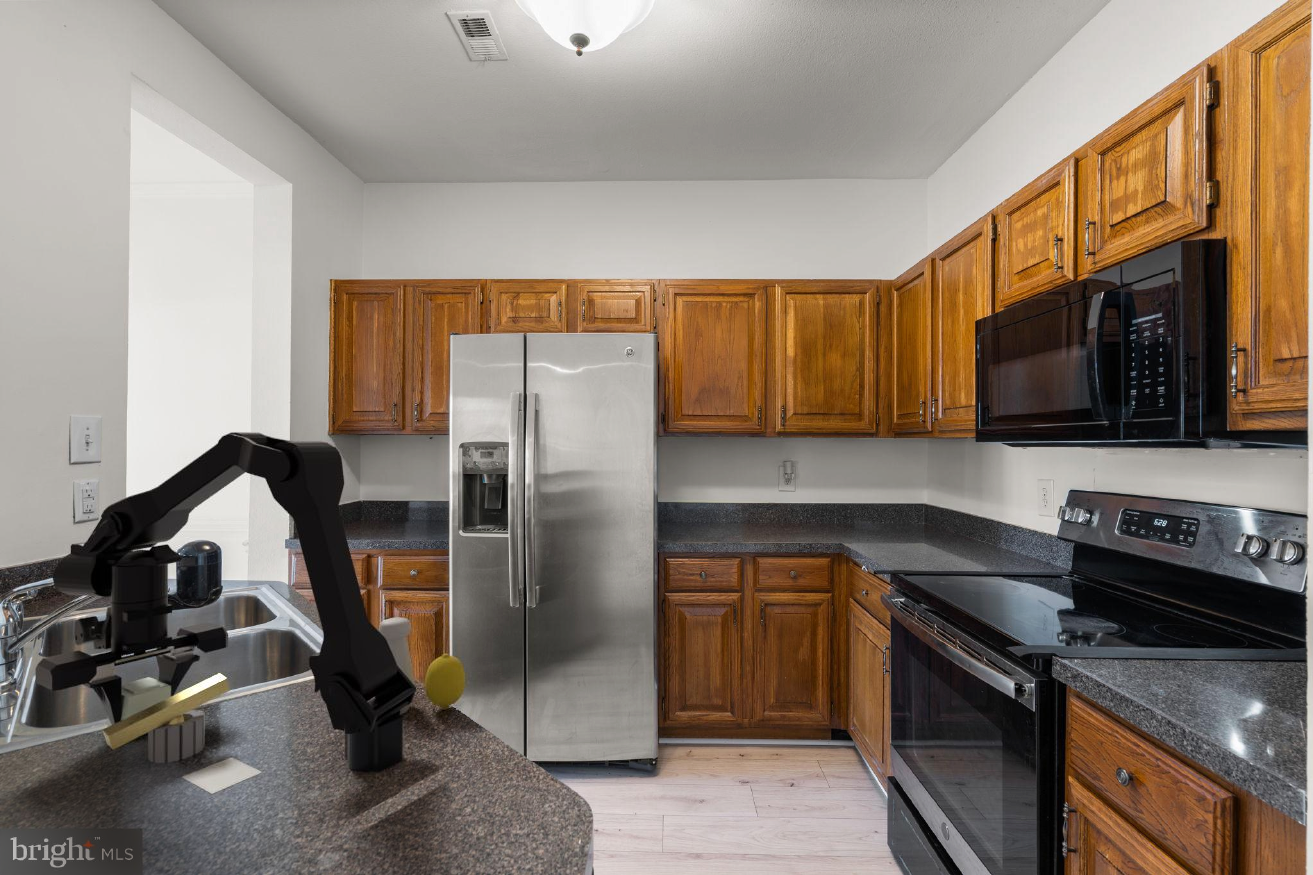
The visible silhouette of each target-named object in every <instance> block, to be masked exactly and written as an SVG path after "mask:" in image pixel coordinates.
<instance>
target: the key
mask: <svg viewBox="0 0 1313 875" xmlns="http://www.w3.org/2000/svg"><path fill="white" fill-rule="evenodd" d="M228 692H230V687H229V682H228V678H227V677H226V676H224V675H223V674H221V673H217V674H215V675H213V676H212V677H209V678H207V679H205V680H203V681H201V682H198V683H196V684H194V685H193V686H191V687H188V688H186V689H184V690H182V691H179V692H178V693H176V694H174V696H172V697H169V698H167V699H165V700H163V701H161V702H159V703H157V704H155V705H153V706H151V707H149V708H147V709H145V710H142V711H140V712H138V713H136V714H134V715H132V716H130V717H128V718H126V719H124V720H122V721H120V722H118V723H116V724H113V725H111V726H109V727H106V728H104V729H102V733H103V736H104V738H105V743H106V744H107V745H108V746H109V747H110V748H111V750H115V749H117V748H119V747H121V746H123V745H125V744H128V743H129V742H131V741H133V740H136V739H138V738H139V737H142V736H143V735H145V734H148V732H149V731H151V730H153V729H155V728H157V727H159V726H161V725H163V724H164V725H171V724H177V723H181V722H184V718H183V714H185V713H187V712H189V711H191V710H195V709H196V708H199V707H200V706H202V705H204V704H206V703H208V702H210V701H212V700H214V699H216V698H218V697H221V695H224V694H226V693H228Z"/></svg>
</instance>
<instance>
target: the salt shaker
mask: <svg viewBox="0 0 1313 875" xmlns="http://www.w3.org/2000/svg"><path fill="white" fill-rule="evenodd" d="M378 631H379V632H380V633H381V634H382V635H383V636H384V637H385V638H386V640H387V642H388V644H389V647H390V649H391V651H392V654H393V656H394V658H395V661H396V663H397V666H398V667H399V668H400V669H401V670H402V671H403V673H404V674H405V675H406V676H407V677H408V678H409V680H410V681H411V682H412V683H413V684H414V686H415V687H416V681H415V677H414V671H413V670H414V669H413V666H412V660H411V659H412V658H411V654H410V649H409V648H410V647H409V642H408V641H409V640H408V638H407V637H408V636H409V635H410V633H411V631H412V624H411V621H410V620H409V619H408V618H406V617H400V616H399V617H397V616H396V617H390V618H387V619H384V620H382V621H381V622H380V623H379V627H378ZM416 692H417V691H416ZM416 692H415V695H414V697H415V696H416ZM374 698H375V697H374ZM374 698H372V699H374ZM372 699H371V700H372ZM411 705H412V703H411V704H409V705H407V706H405V707H404V708H402V709H401V710H400V715H402V714H406V713H407V711H408V710H409V709H410V708H411Z"/></svg>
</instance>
